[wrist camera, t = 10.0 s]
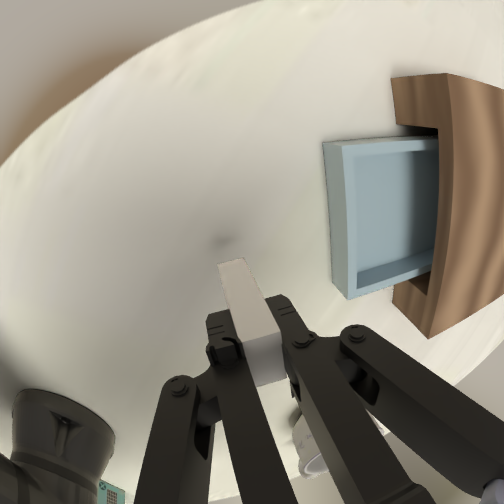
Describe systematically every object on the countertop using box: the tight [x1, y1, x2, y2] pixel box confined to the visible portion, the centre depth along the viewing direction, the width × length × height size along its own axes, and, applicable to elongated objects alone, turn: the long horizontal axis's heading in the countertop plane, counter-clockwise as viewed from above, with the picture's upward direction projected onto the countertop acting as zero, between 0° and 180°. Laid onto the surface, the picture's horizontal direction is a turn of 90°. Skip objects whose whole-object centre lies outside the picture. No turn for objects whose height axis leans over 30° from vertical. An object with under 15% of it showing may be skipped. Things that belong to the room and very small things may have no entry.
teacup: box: [292, 411, 384, 479], centre depth 31 cm, size 14×11×8 cm
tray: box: [322, 136, 439, 300], centre depth 22 cm, size 20×12×3 cm, turn 99°
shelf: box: [391, 73, 504, 339], centre depth 21 cm, size 14×22×6 cm, turn 9°
